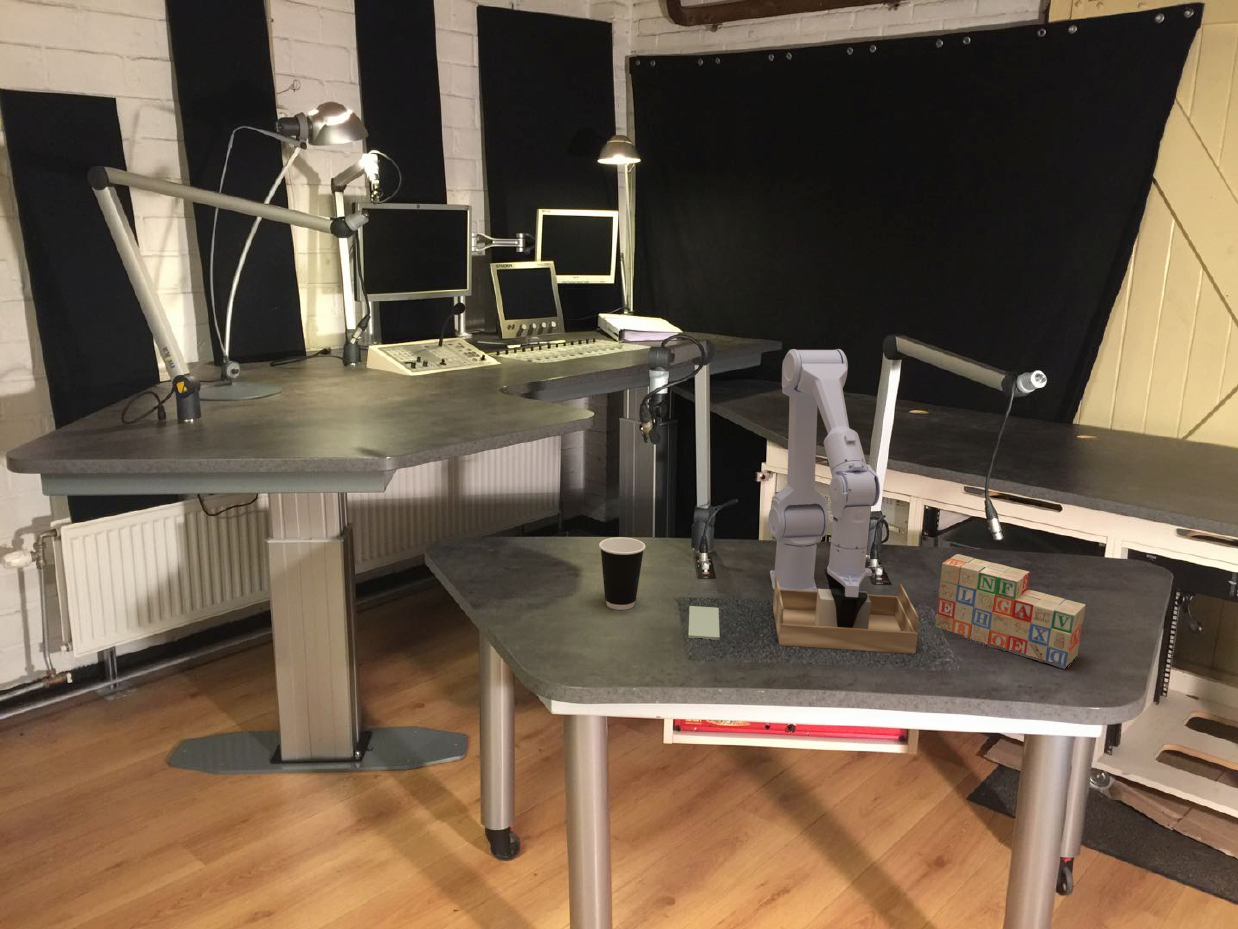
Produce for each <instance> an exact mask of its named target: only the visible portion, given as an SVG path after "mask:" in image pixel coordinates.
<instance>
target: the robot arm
mask: <svg viewBox="0 0 1238 929" xmlns="http://www.w3.org/2000/svg"><path fill="white" fill-rule="evenodd" d="M781 366H782V367H781V374H782V375H781V387H782V390H781V391H782V392H781V393H782V394H784V395H786V396H788V397H789V403H788V404H789V407H788V408H789V409H788V410H789V411H788V412H789V413H788V415H789V416H788V439H787V441H788V445H787V448H788V449H787V477H786V478H787V479H786V480H787V483H786V486H785V487H783V489H781V490H780V491H778V492H777V493H776V494H774V495H773V496H772V497H771V503H770V510H769V512H768V529H769V532H770V535H771V536H772V537H773V538H774V539H775V540H776V548H775V560H774V562H775V564H774V569H773V570H769V575H770V576H769V577H770V580H771V586H772V589H773V590H774V589H775V578H776V576H777V577H778V582H779V587H780V589H788V590H804V591H818V588H817V585H816V582H815V566H816V556H817V547H818V545H817V544H819V543H821V539H822V538H823V537H825V536H826V534H827V533H828V531H829V527H830V516H829V515H830V514H831V515H832V525H831V526H832V528H831V537H830V539H831V540H830V546H829V547H830V549H829V557H828V558H829V560H828V565H827V567H826V568H824V570H823V572H824V575H825V577H826V579H827V584H828V589H831V594H832V596H833V599H834V601H835V607H836V620H837V627H844V628H853V626H854V623H855V620H856V617H857V615H858V612H859V610H860V609H861V607H862V605H863V604H864V603H865V602H866V600H867V597H868V596H867V594H868V592H867V593H864V592H865V591H864V592H859V591H860V585H861V584H862V582H863V580H864V578H865V577H872V575H873V572H872V569H871V568H869V567H866V559H867V551H868V541H869V540H868V539H869V531H870V522H871V520H870V519H871V510H872V507H875V506H877V504H878V502H879V499H880V494H881V486H880V480H879V476H878V474H877V472H876V471H875V470H874V469H873V468H872V465H871V464H867V461H866V457H865V454H864V451H863V447H862V443H861V440H860V436H859V434H858V432H857V431H856V430H854V429H852V428H850V425H849V424H850V423H849V418H848V414H847V408H846V402H845V396H844V390H843V388H844V386H845V383H846V380H847V377H848V368H849V364H848V359H847V356H846V354H845V352H844V351H843V350H842V349H840V348H836V349H795V348H793V349H789V350H788V351H787V353H786V355H785V357H784V359H783V360H782V365H781ZM818 410H819V413H820V416H821V418H822V421H823V423H824V424H823V425H824V427H825V430H826V432H827V435H826V436H825V438H824V439H823V445H824V450H825V454H826V458H827V462H828V466H829V469H830V473H831V479H830V482H829V486H828V487H829V488H828V492H829V493H828V494H829V498H830V514H829V510H828V500H827V497H825V495H824V494H822V493H821V492H820V491H818V490H817V489H816V459H817V457H816V456H817V455H816V454H817V432H818V431H817V428H818V423H817V422H818Z"/></svg>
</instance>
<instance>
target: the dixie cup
mask: <svg viewBox="0 0 1238 929" xmlns="http://www.w3.org/2000/svg"><path fill="white" fill-rule="evenodd" d="M598 546H599V549H600V554H601V566H602V577H603V578H602V580H603V591H604V592H603V593H604V599H605V602H606V607H608V608H609V607H610V608H609V609H611V610H612V609H613V610H618V611H621V610H622V611H625V610H630V609H632V608H633V607H634V606H635V602H636V601H637V595H638V590H639V588H638V587H639V581H640V576H641V569H642V563H643V558H644V557H643V556H644V550H645V549H646V544H645V543H644V542H643V541H641V540H639V539H636V538H631V537H622V536H621V537H620V536H619V537H618V536H617V537H610V538H606V539H602V540H601V541H600V542H599V544H598Z"/></svg>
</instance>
